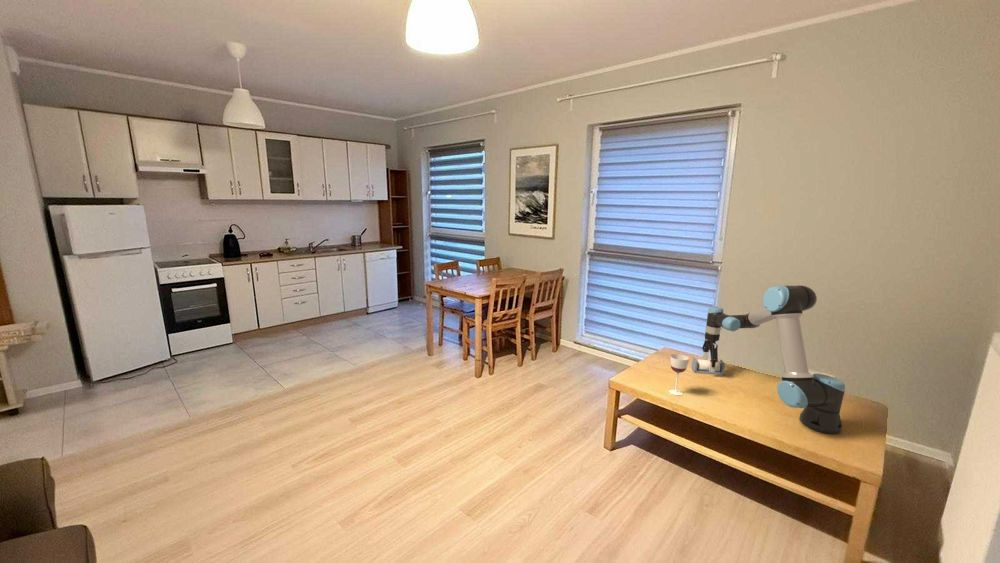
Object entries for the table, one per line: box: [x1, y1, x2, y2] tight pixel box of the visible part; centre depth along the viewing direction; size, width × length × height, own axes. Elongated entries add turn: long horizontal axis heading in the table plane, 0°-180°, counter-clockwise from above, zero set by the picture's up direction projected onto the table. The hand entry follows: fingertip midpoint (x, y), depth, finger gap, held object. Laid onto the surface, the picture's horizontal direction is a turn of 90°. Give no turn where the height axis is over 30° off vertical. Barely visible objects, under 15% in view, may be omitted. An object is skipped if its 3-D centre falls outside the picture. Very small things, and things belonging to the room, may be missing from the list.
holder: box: [691, 357, 726, 376], centre depth 234 cm, size 6×16×7 cm, turn 79°
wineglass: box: [668, 353, 690, 396], centre depth 206 cm, size 8×9×20 cm
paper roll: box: [696, 358, 720, 371], centre depth 234 cm, size 11×6×6 cm, turn 79°
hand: (707, 367), depth 234 cm, fingers open, 13 cm apart
